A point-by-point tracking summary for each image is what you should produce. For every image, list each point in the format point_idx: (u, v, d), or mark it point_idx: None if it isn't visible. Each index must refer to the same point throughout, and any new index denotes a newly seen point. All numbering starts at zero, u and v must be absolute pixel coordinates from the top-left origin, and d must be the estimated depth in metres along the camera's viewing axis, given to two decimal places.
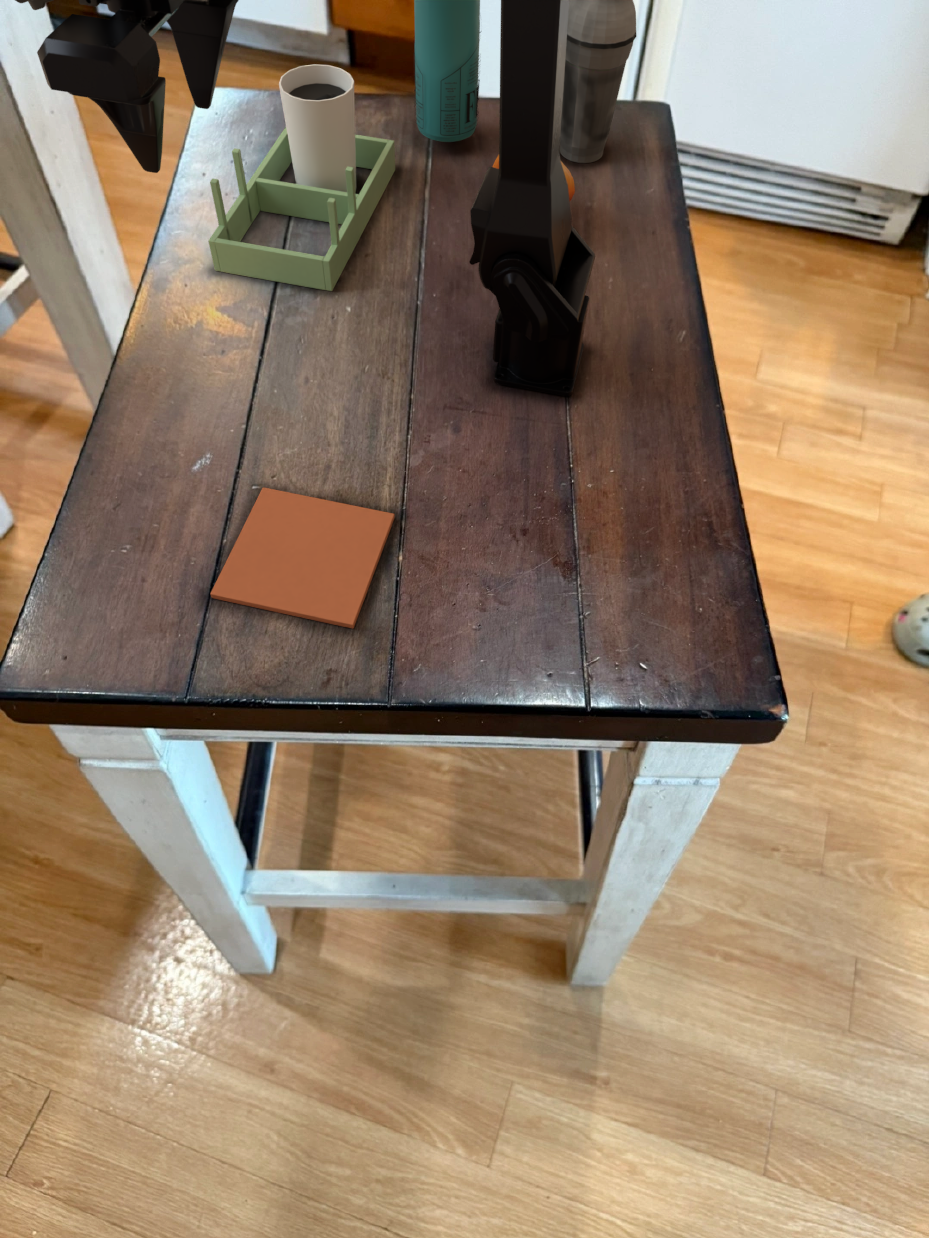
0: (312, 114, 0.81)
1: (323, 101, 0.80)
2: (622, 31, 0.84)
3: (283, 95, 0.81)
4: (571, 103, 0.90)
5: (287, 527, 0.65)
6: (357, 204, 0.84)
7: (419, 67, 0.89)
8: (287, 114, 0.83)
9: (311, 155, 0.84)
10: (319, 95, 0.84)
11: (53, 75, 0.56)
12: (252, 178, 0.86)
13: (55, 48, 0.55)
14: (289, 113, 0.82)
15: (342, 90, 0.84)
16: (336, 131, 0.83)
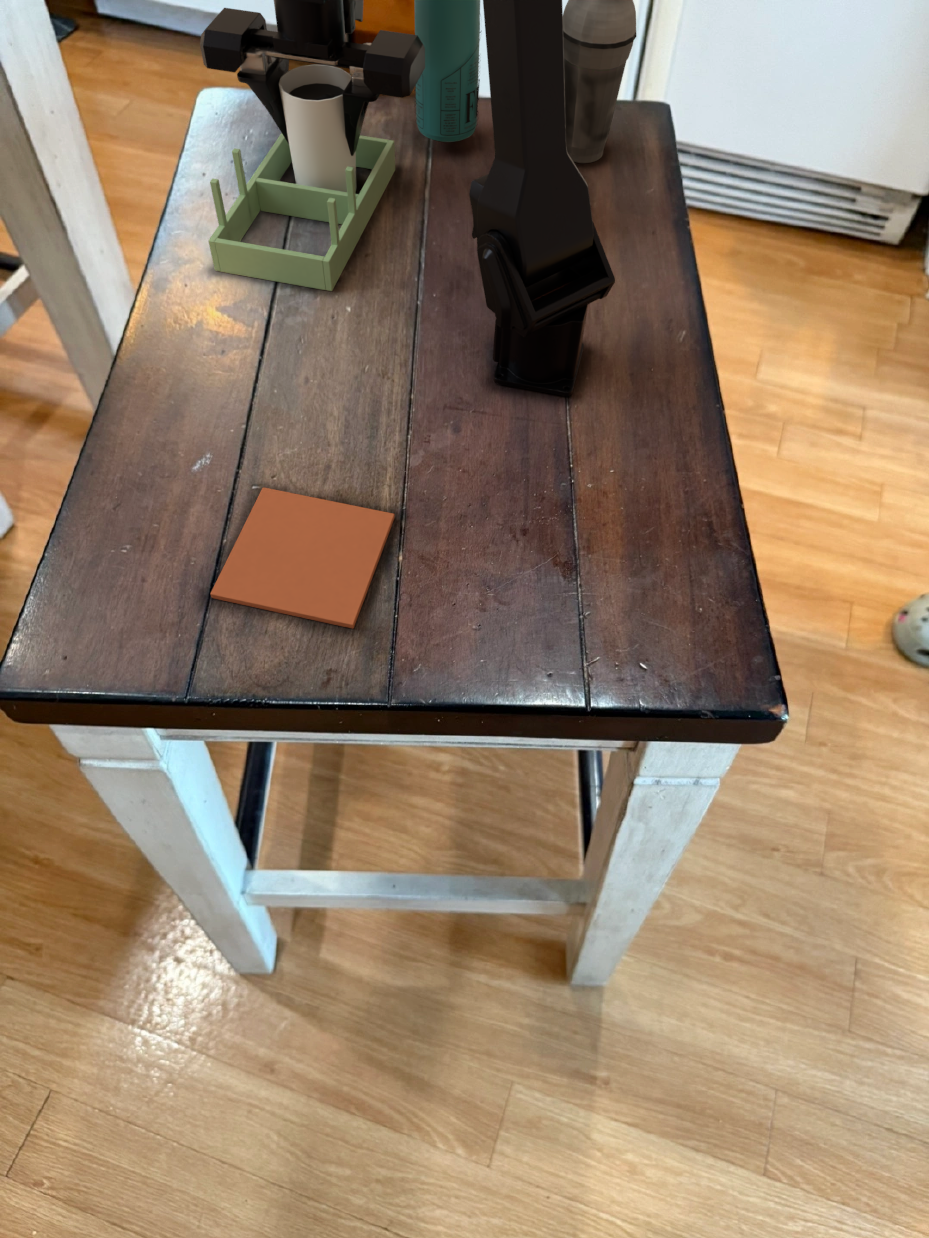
0: (312, 114, 0.81)
1: (323, 101, 0.80)
2: (622, 31, 0.84)
3: (283, 95, 0.81)
4: (571, 103, 0.90)
5: (287, 527, 0.65)
6: (357, 204, 0.84)
7: None
8: (287, 114, 0.83)
9: (311, 155, 0.84)
10: (319, 95, 0.84)
11: None
12: (252, 178, 0.86)
13: None
14: (289, 113, 0.82)
15: (342, 90, 0.84)
16: (336, 131, 0.83)
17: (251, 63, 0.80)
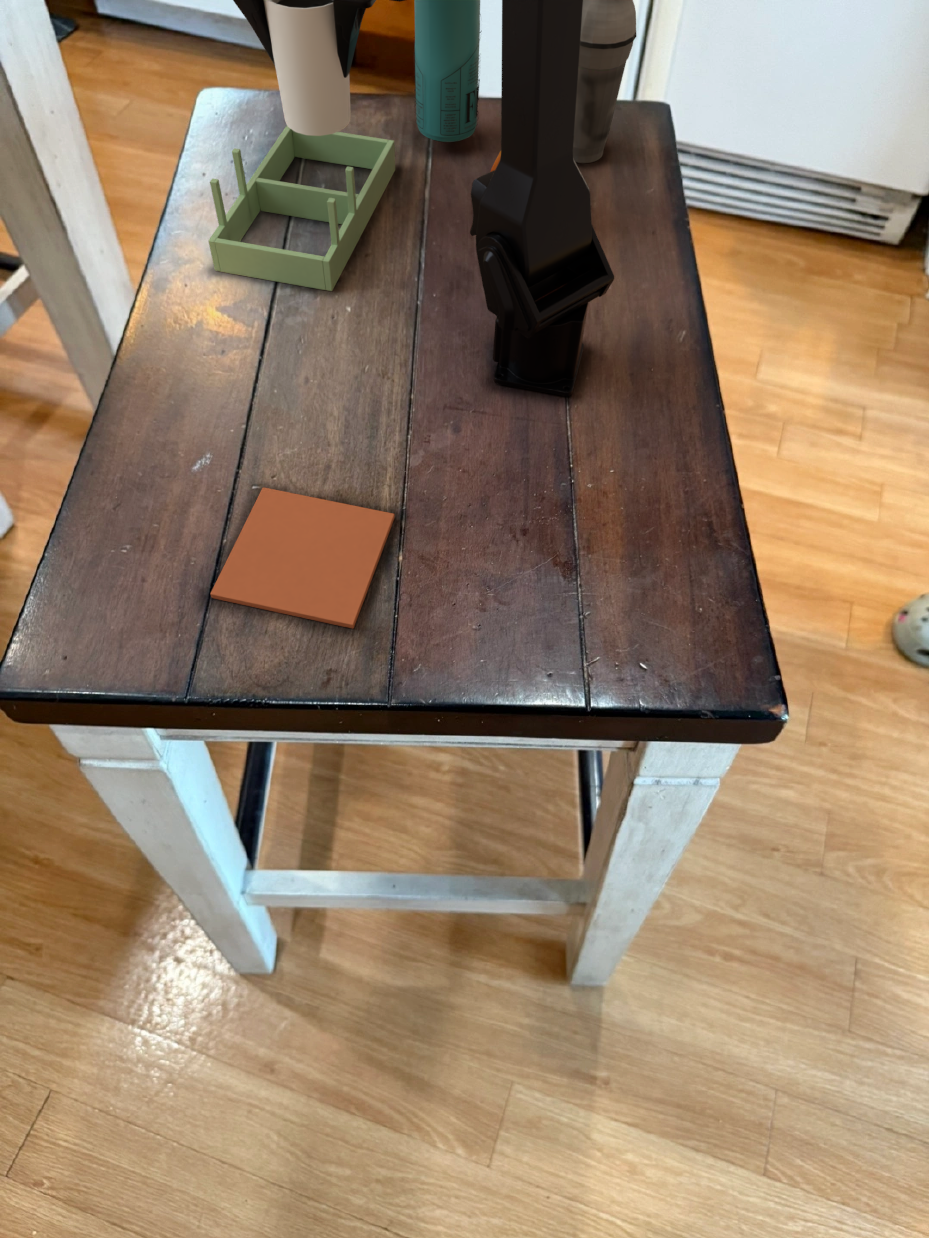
0: (299, 25, 0.72)
1: (311, 9, 0.71)
2: (622, 31, 0.84)
3: (267, 4, 0.72)
4: None
5: (287, 527, 0.65)
6: (357, 204, 0.84)
7: (419, 67, 0.89)
8: (271, 27, 0.74)
9: (299, 75, 0.75)
10: (308, 7, 0.75)
11: None
12: (252, 178, 0.86)
13: None
14: (274, 25, 0.73)
15: None
16: (327, 46, 0.74)
17: None
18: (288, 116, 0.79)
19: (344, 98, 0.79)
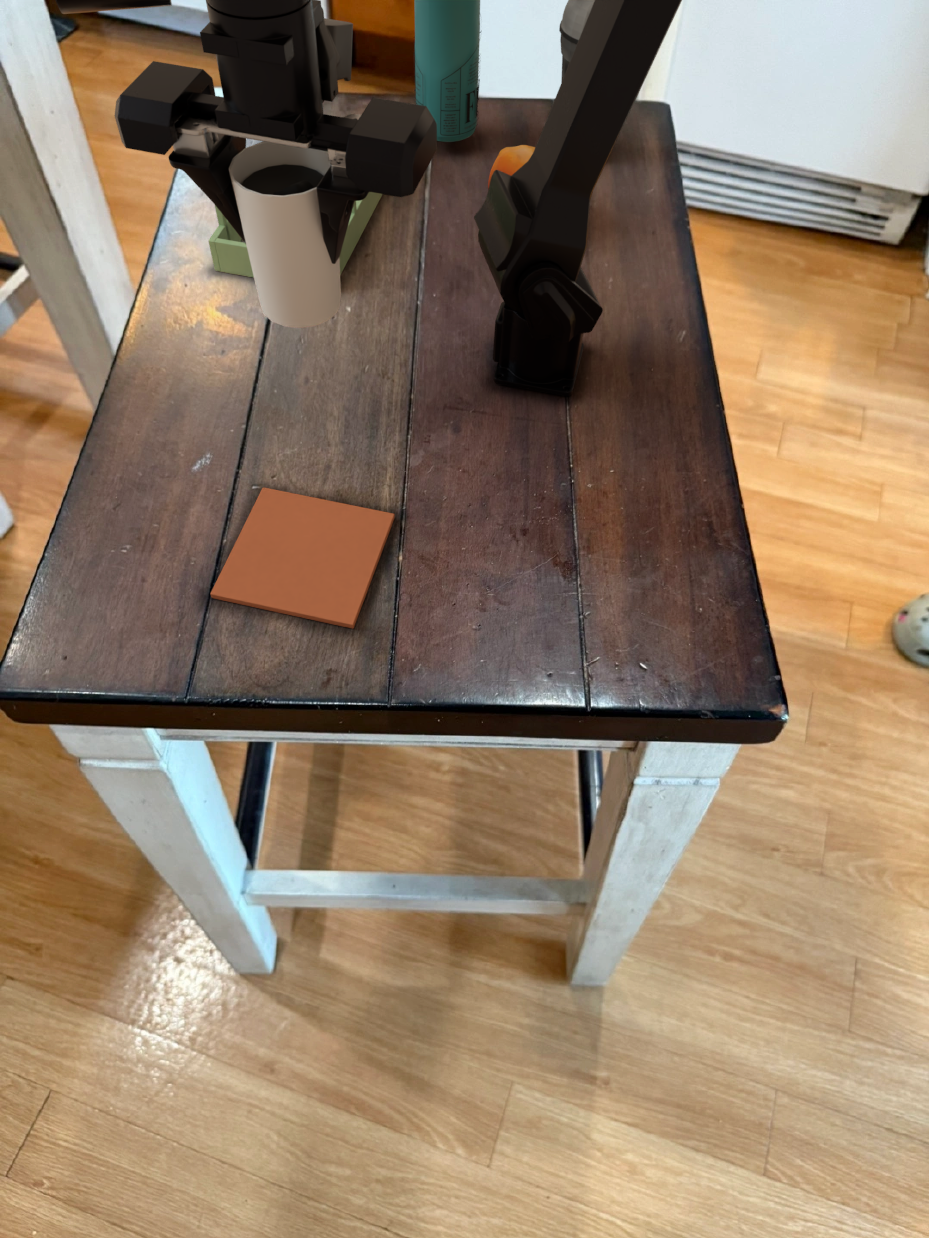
0: (274, 213, 0.57)
1: (289, 197, 0.56)
2: None
3: (234, 186, 0.57)
4: None
5: (287, 527, 0.65)
6: (357, 204, 0.84)
7: (419, 67, 0.89)
8: (241, 210, 0.58)
9: (275, 266, 0.60)
10: (287, 183, 0.59)
11: None
12: None
13: None
14: (243, 210, 0.58)
15: (320, 175, 0.60)
16: (309, 235, 0.59)
17: (188, 142, 0.56)
18: (263, 304, 0.64)
19: (332, 285, 0.64)
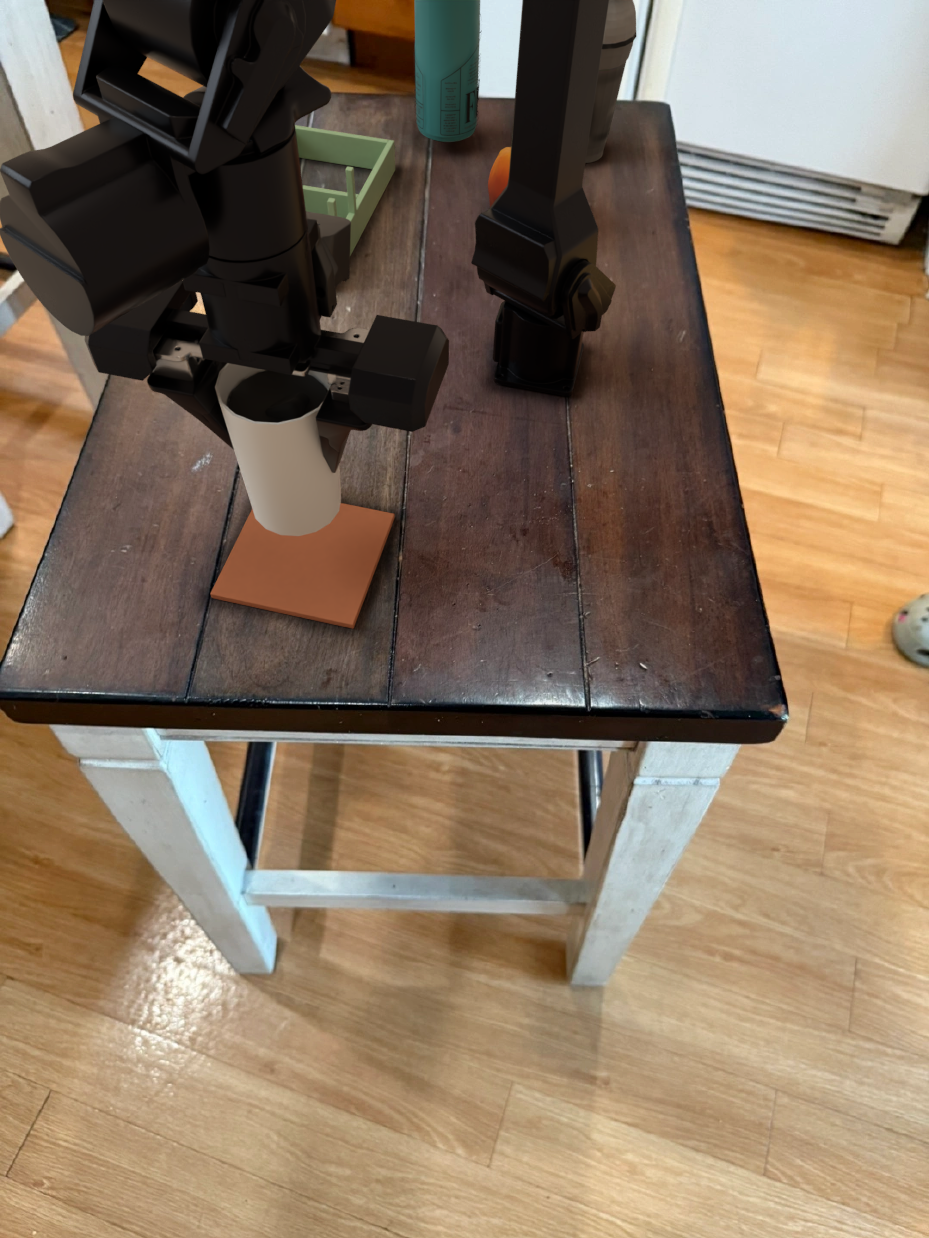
0: (268, 439, 0.51)
1: (285, 423, 0.50)
2: (622, 31, 0.84)
3: (222, 407, 0.51)
4: None
5: None
6: (357, 204, 0.84)
7: (419, 67, 0.89)
8: (229, 430, 0.52)
9: (269, 483, 0.54)
10: (281, 394, 0.53)
11: None
12: None
13: None
14: (232, 431, 0.52)
15: (317, 382, 0.54)
16: (307, 454, 0.53)
17: (169, 365, 0.50)
18: (255, 511, 0.58)
19: (332, 491, 0.57)
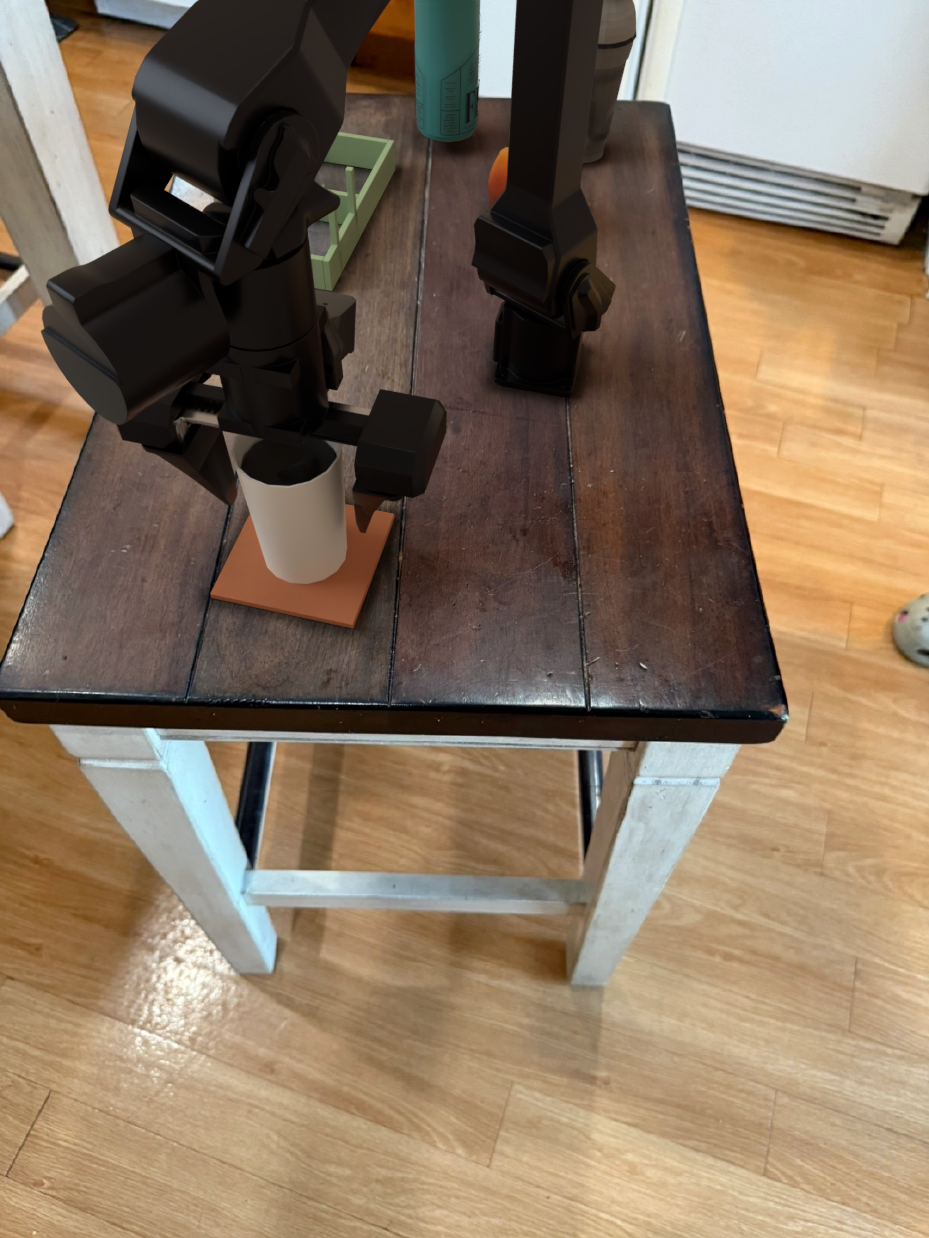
0: (280, 500, 0.55)
1: (296, 486, 0.54)
2: (622, 31, 0.84)
3: (237, 471, 0.55)
4: None
5: None
6: (357, 204, 0.84)
7: (419, 67, 0.89)
8: (244, 490, 0.56)
9: (281, 538, 0.58)
10: (291, 456, 0.57)
11: None
12: None
13: None
14: (247, 491, 0.56)
15: (325, 444, 0.58)
16: (316, 512, 0.57)
17: None
18: (267, 561, 0.62)
19: (339, 543, 0.61)
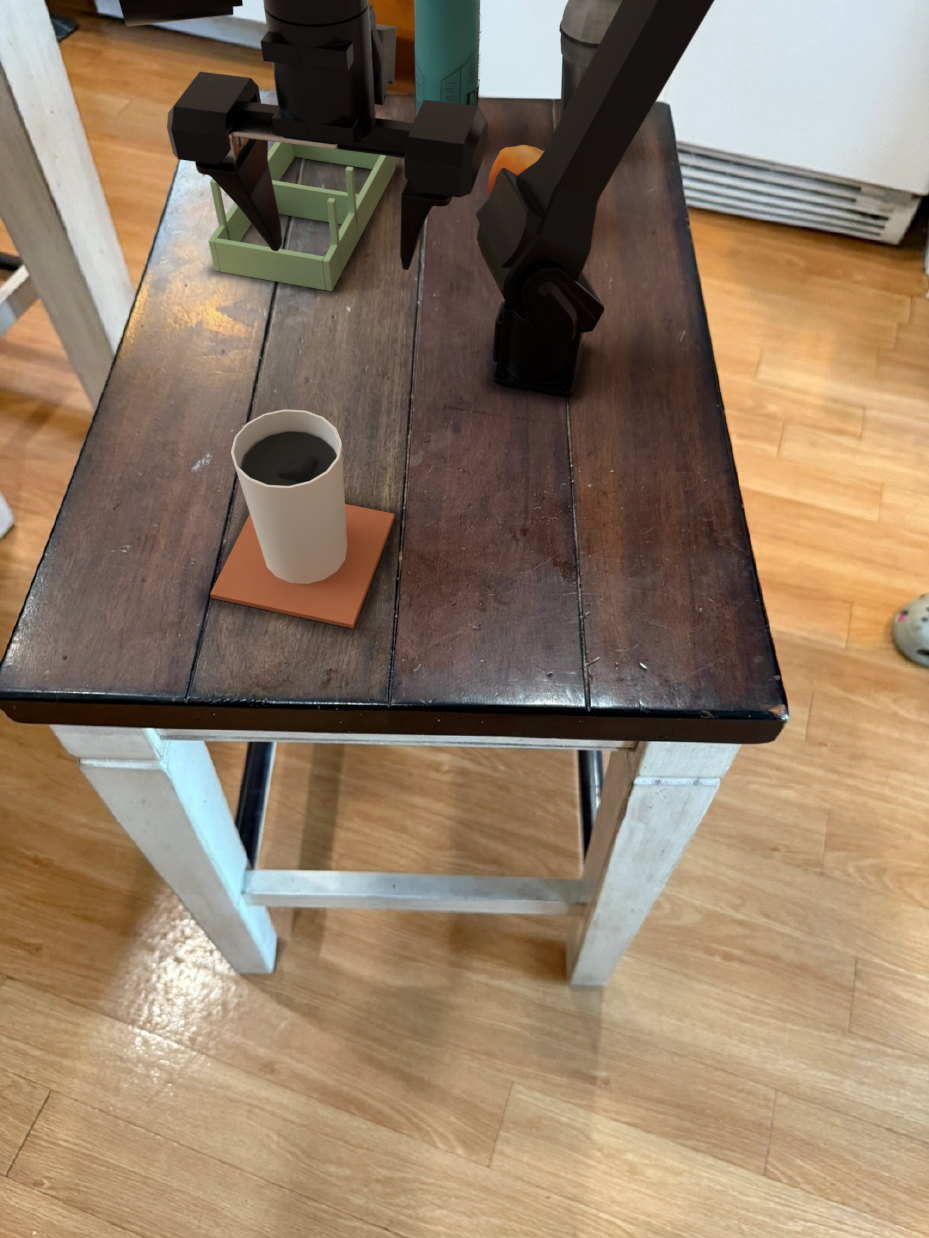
0: (280, 500, 0.55)
1: (296, 486, 0.54)
2: None
3: (237, 471, 0.55)
4: None
5: None
6: (357, 204, 0.84)
7: (419, 67, 0.89)
8: (244, 491, 0.56)
9: (281, 538, 0.58)
10: (291, 456, 0.57)
11: None
12: None
13: (191, 82, 0.57)
14: (247, 491, 0.56)
15: (325, 444, 0.58)
16: (316, 512, 0.57)
17: None
18: (267, 561, 0.62)
19: (339, 543, 0.61)
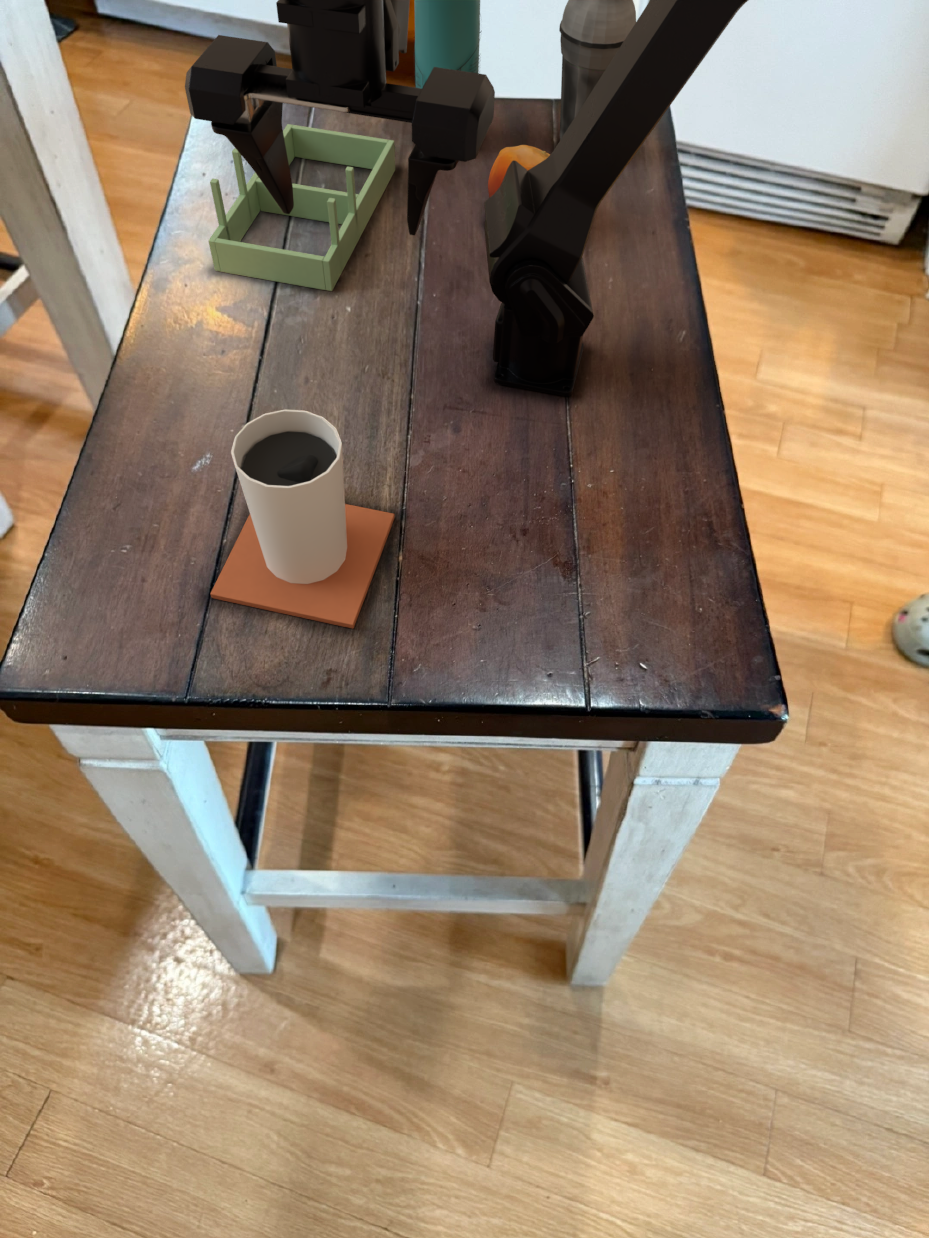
0: (280, 500, 0.55)
1: (296, 486, 0.54)
2: (622, 31, 0.84)
3: (237, 471, 0.55)
4: (571, 103, 0.90)
5: None
6: (357, 204, 0.84)
7: (419, 67, 0.89)
8: (244, 491, 0.56)
9: (281, 538, 0.58)
10: (291, 456, 0.57)
11: None
12: (252, 178, 0.86)
13: None
14: (247, 491, 0.56)
15: (325, 444, 0.58)
16: (316, 512, 0.57)
17: None
18: (267, 561, 0.62)
19: (339, 543, 0.61)
